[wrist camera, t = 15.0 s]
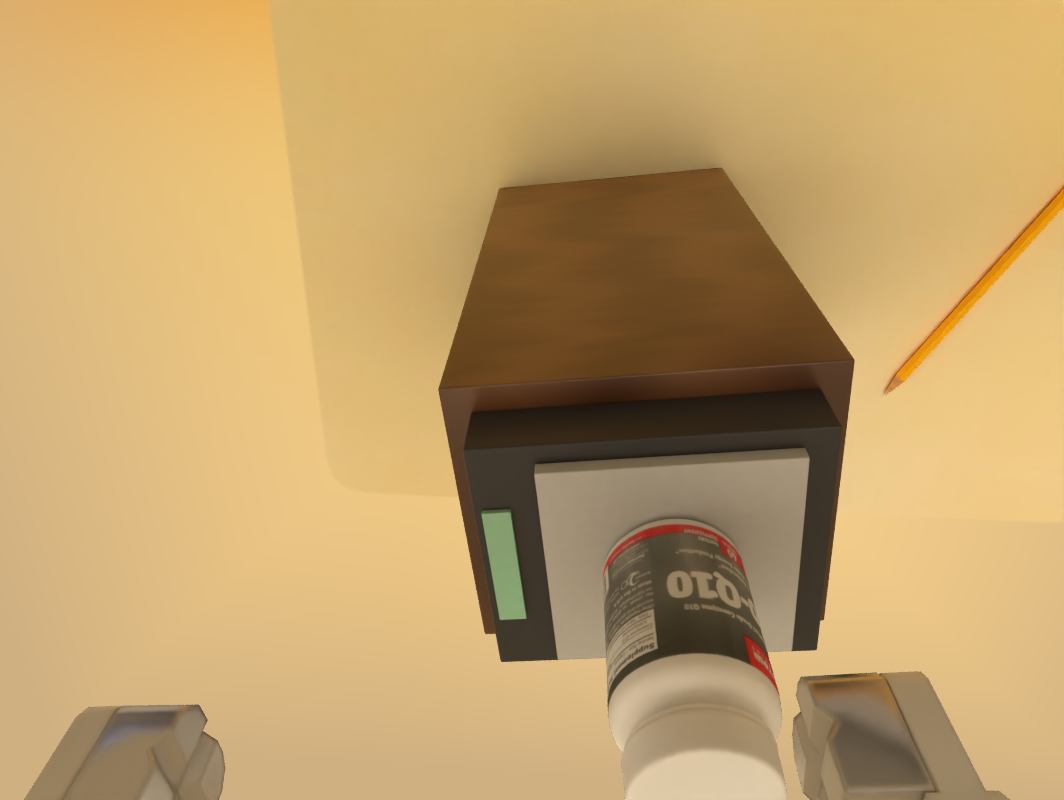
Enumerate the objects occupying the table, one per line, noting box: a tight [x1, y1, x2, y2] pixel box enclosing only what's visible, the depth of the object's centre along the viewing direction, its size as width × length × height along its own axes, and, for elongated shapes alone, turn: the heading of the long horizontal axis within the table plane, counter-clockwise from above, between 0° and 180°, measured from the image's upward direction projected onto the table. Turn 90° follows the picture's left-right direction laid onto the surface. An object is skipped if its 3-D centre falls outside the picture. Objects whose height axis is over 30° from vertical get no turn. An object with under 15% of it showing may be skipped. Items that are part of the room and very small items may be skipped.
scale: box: [463, 389, 842, 662], centre depth 28 cm, size 12×10×3 cm
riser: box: [438, 168, 854, 634], centre depth 40 cm, size 14×12×26 cm
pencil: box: [884, 189, 1064, 395], centre depth 51 cm, size 1×19×1 cm, turn 152°
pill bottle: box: [603, 519, 787, 800], centre depth 23 cm, size 5×5×8 cm
